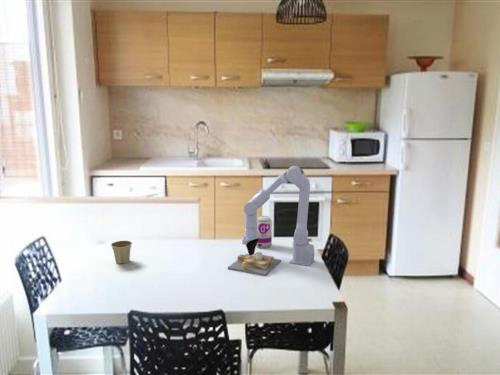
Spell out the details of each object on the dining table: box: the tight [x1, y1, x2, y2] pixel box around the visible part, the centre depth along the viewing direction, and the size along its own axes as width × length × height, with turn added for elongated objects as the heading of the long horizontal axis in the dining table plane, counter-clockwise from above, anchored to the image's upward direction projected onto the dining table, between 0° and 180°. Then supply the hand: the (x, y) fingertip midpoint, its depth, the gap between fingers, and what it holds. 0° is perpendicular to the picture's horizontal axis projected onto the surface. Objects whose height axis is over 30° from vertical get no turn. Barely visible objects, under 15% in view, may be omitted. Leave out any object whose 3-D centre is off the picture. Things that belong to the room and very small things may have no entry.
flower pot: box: [110, 240, 133, 265], centre depth 200 cm, size 9×9×9 cm
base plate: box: [227, 251, 282, 277], centre depth 194 cm, size 18×18×6 cm
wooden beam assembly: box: [237, 253, 275, 270], centre depth 194 cm, size 15×10×2 cm, turn 64°
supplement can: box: [256, 215, 273, 249], centre depth 218 cm, size 8×8×15 cm
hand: (251, 254), depth 202 cm, fingers closed
